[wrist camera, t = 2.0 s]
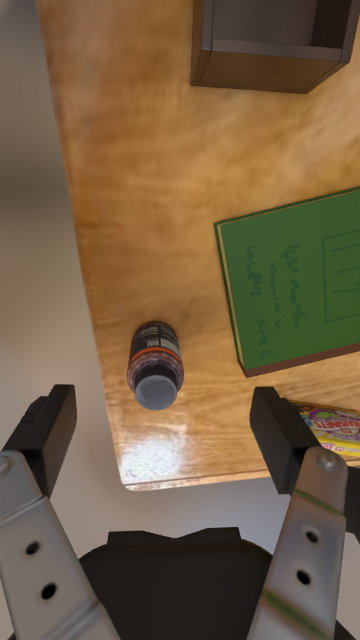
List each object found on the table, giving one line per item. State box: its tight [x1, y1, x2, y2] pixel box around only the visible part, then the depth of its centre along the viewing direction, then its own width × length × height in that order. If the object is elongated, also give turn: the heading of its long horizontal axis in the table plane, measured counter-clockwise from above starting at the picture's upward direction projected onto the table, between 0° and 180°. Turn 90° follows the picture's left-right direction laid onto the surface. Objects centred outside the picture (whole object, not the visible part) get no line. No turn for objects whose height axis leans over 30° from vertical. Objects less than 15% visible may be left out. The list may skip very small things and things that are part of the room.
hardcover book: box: [214, 187, 360, 378], centre depth 34 cm, size 25×19×4 cm
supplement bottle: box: [127, 322, 184, 410], centre depth 32 cm, size 6×6×11 cm
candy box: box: [288, 400, 360, 457], centre depth 40 cm, size 16×2×8 cm, turn 77°
